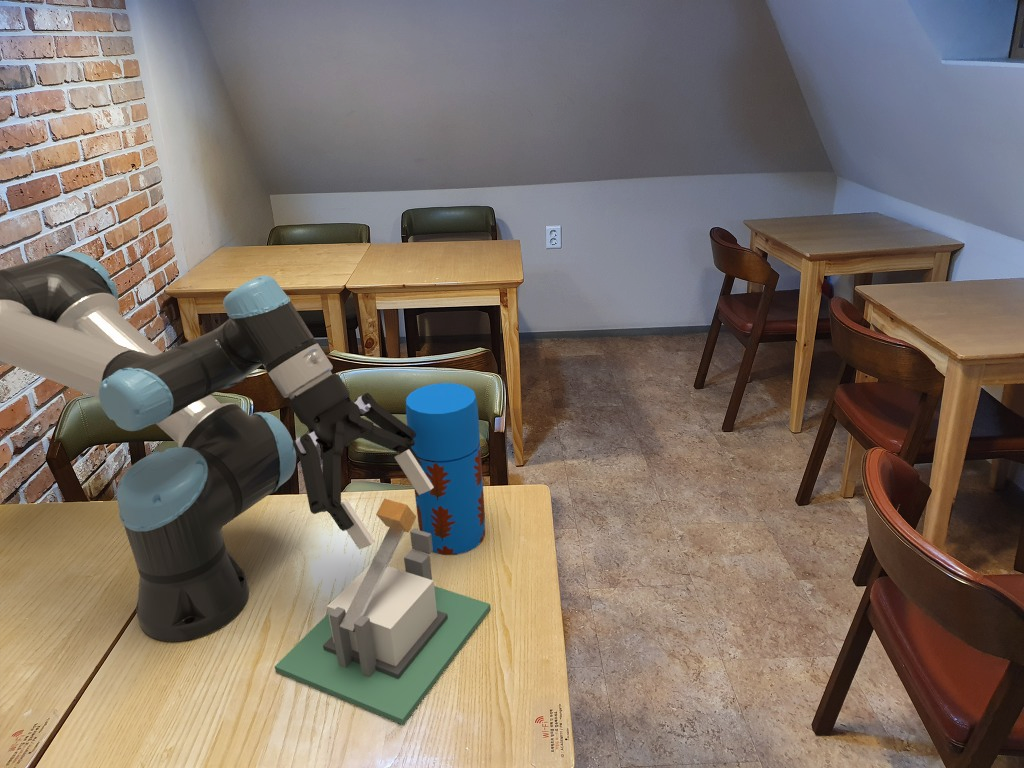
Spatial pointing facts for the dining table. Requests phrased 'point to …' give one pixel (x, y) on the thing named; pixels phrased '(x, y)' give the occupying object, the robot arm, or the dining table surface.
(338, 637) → the lever on green base
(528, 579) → the dining table surface
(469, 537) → the thermos
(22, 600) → the dining table surface
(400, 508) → the grey and orange bar
